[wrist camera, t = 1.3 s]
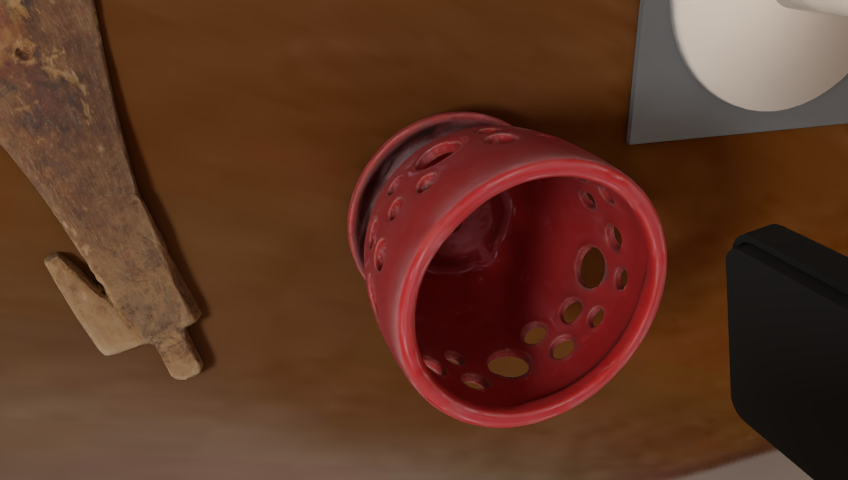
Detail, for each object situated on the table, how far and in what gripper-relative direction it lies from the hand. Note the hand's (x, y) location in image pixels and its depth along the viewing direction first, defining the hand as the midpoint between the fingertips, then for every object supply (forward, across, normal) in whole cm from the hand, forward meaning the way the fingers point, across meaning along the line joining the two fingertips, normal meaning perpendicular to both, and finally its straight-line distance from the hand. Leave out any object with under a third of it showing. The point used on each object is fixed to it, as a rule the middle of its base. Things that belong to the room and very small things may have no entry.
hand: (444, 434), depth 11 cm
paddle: (+31, +8, 0) cm, 32 cm away
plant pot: (+31, -9, +11) cm, 33 cm away
